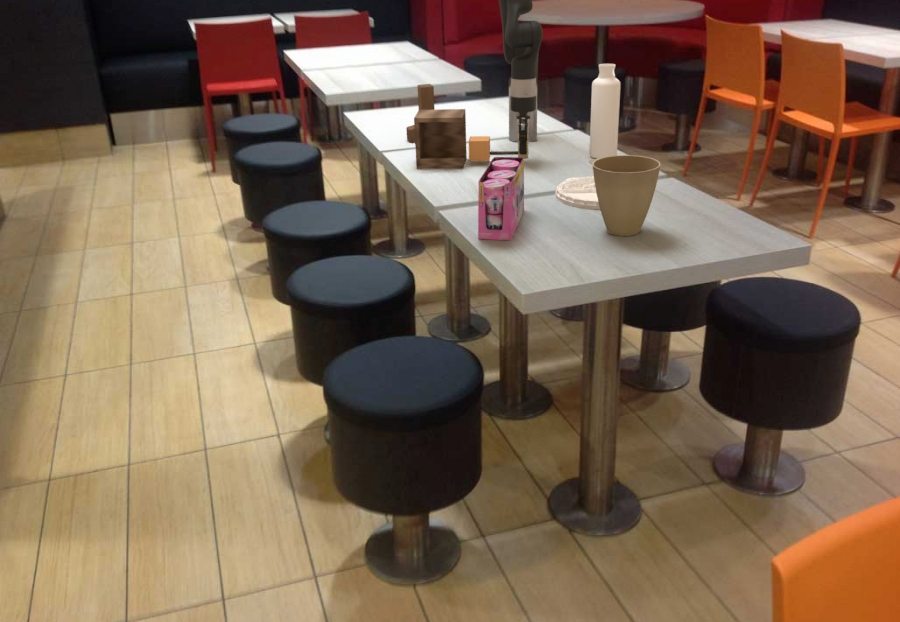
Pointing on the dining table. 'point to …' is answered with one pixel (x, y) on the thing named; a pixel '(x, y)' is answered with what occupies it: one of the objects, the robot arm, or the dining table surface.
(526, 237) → the dining table surface
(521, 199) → the gum box
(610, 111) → the bottle
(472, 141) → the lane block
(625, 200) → the plant pot
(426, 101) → the wooden block
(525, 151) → the robot arm
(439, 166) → the box
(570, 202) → the medallion
